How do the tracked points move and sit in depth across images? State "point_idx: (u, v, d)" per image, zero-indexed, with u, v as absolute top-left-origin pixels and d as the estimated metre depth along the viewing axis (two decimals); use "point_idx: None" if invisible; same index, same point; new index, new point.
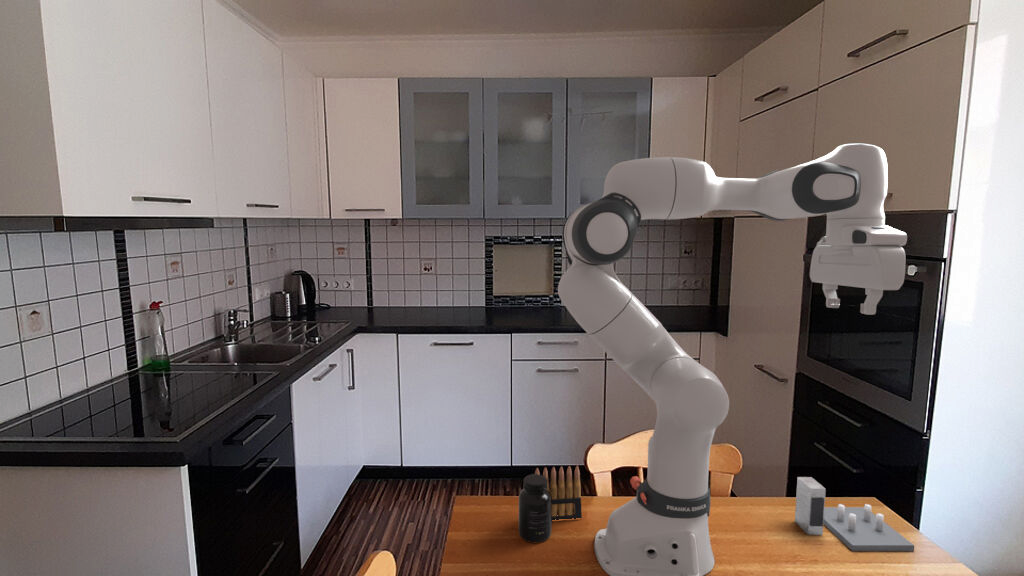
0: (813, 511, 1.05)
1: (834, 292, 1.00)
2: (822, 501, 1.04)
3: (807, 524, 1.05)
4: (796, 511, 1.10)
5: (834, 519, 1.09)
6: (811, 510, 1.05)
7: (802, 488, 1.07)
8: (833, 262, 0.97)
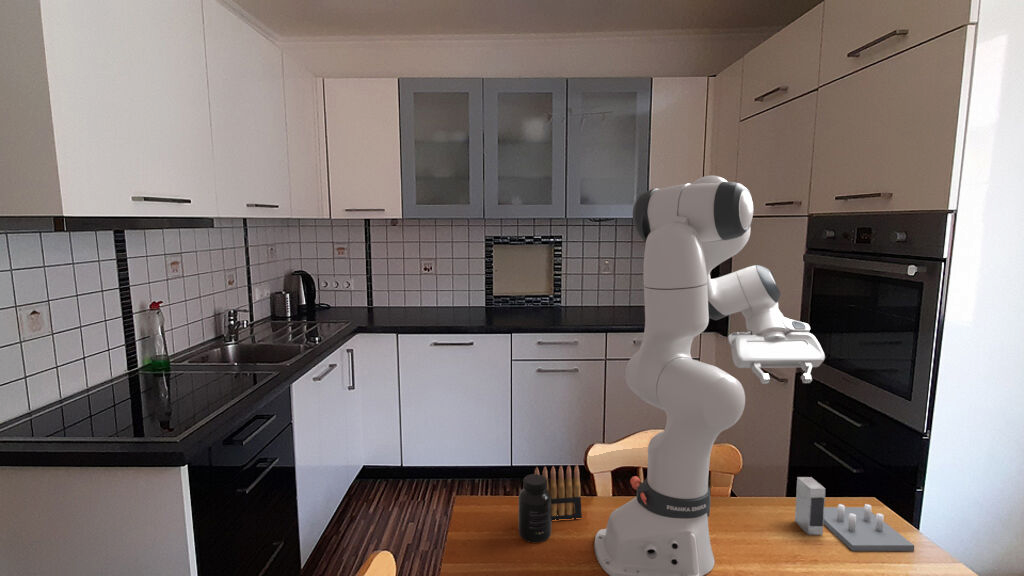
0: (813, 511, 1.05)
1: None
2: (822, 501, 1.04)
3: (807, 524, 1.05)
4: (796, 511, 1.10)
5: (834, 519, 1.09)
6: (811, 510, 1.05)
7: (802, 488, 1.07)
8: (764, 346, 1.21)
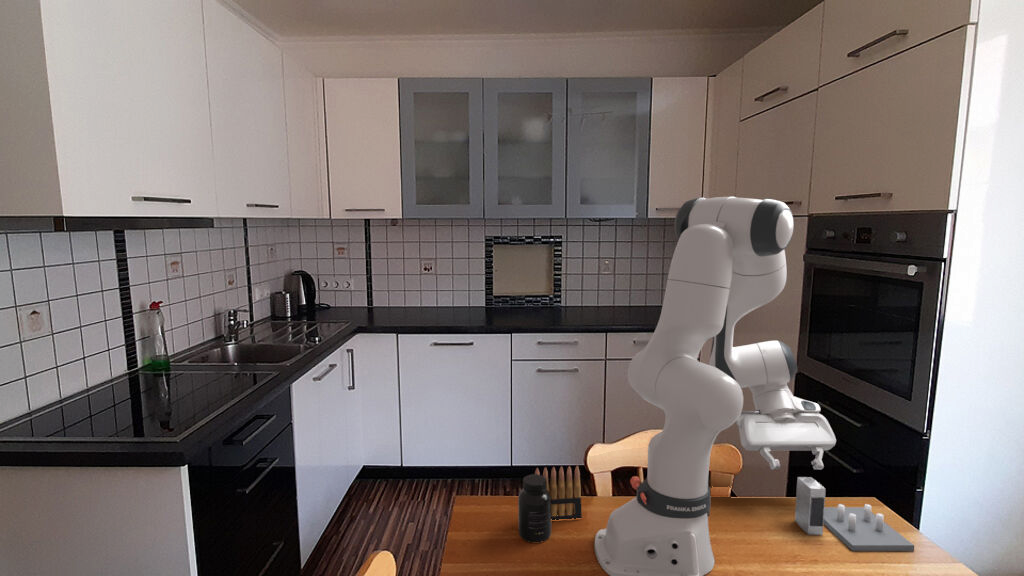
0: (813, 511, 1.05)
1: None
2: (822, 501, 1.04)
3: (807, 524, 1.05)
4: (796, 511, 1.10)
5: (834, 519, 1.09)
6: (811, 510, 1.05)
7: (802, 488, 1.07)
8: (773, 427, 1.16)
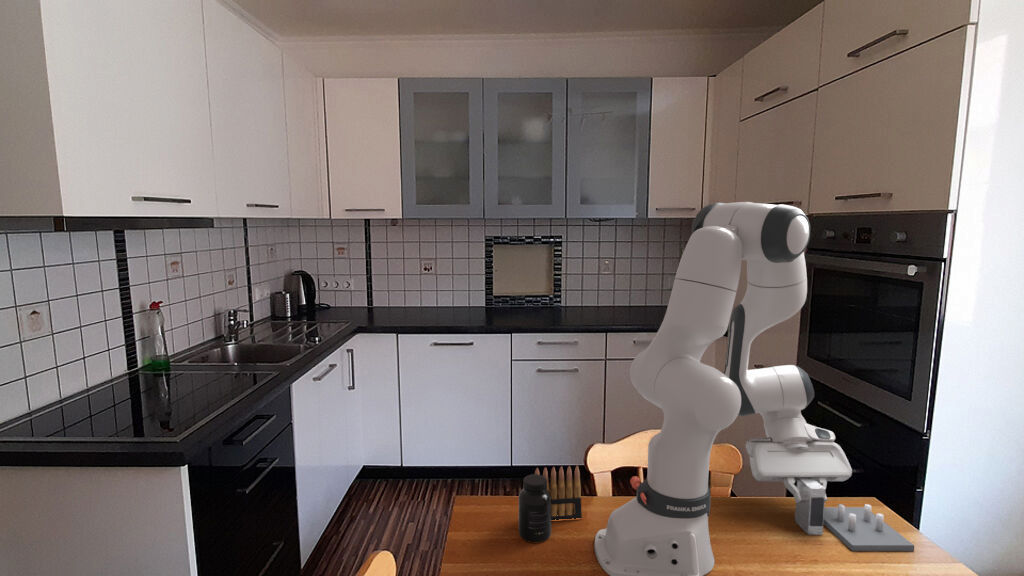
0: (813, 511, 1.05)
1: None
2: (822, 501, 1.04)
3: (807, 524, 1.05)
4: (796, 511, 1.10)
5: (834, 519, 1.09)
6: (811, 510, 1.05)
7: (802, 488, 1.07)
8: (786, 457, 1.11)
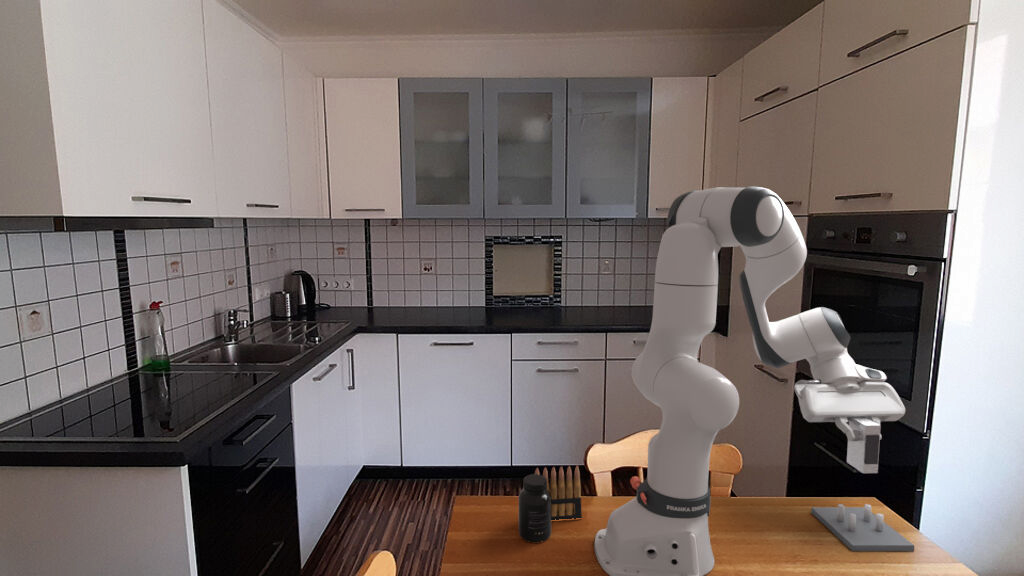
0: (868, 448, 1.02)
1: None
2: (877, 438, 1.02)
3: (862, 463, 1.03)
4: (848, 451, 1.08)
5: (834, 519, 1.09)
6: (865, 448, 1.03)
7: (855, 427, 1.05)
8: (837, 397, 1.09)
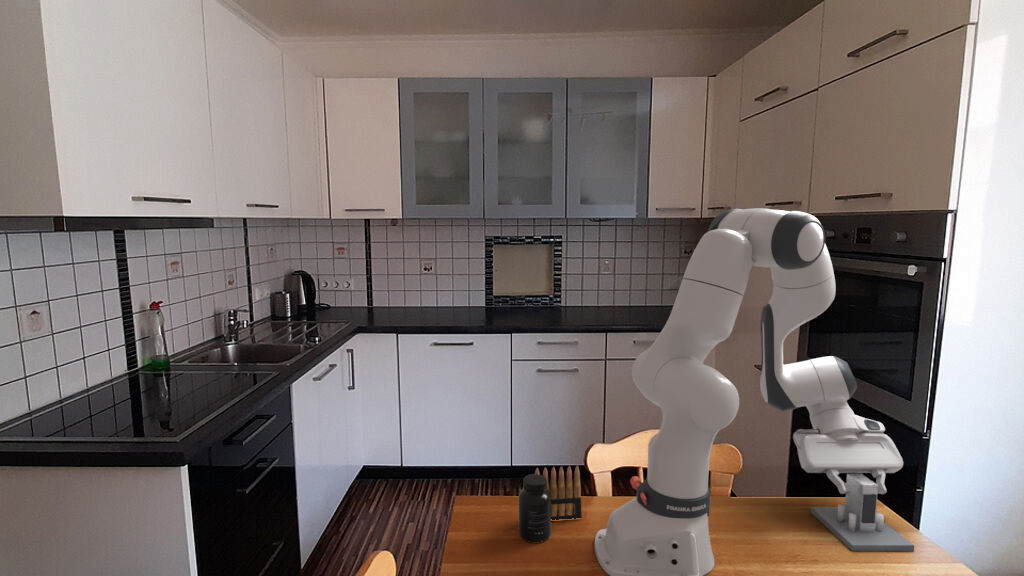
0: (865, 508, 1.03)
1: None
2: (874, 498, 1.03)
3: (859, 521, 1.04)
4: (846, 508, 1.09)
5: (834, 519, 1.09)
6: (863, 507, 1.04)
7: (853, 485, 1.06)
8: (835, 448, 1.10)
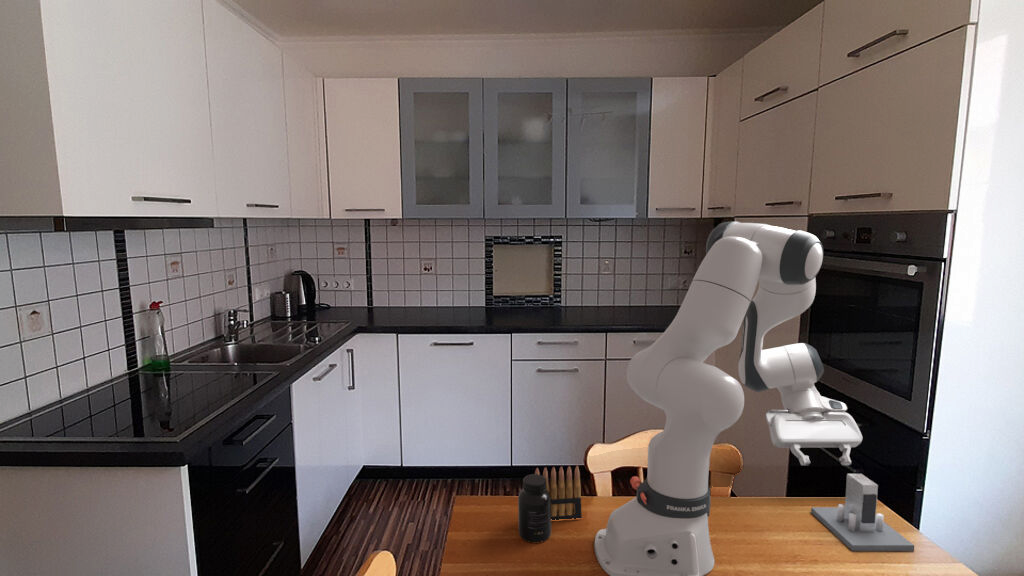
0: (865, 508, 1.03)
1: None
2: (874, 498, 1.03)
3: (859, 521, 1.04)
4: (846, 508, 1.09)
5: (834, 519, 1.09)
6: (863, 507, 1.04)
7: (853, 485, 1.06)
8: (802, 425, 1.22)
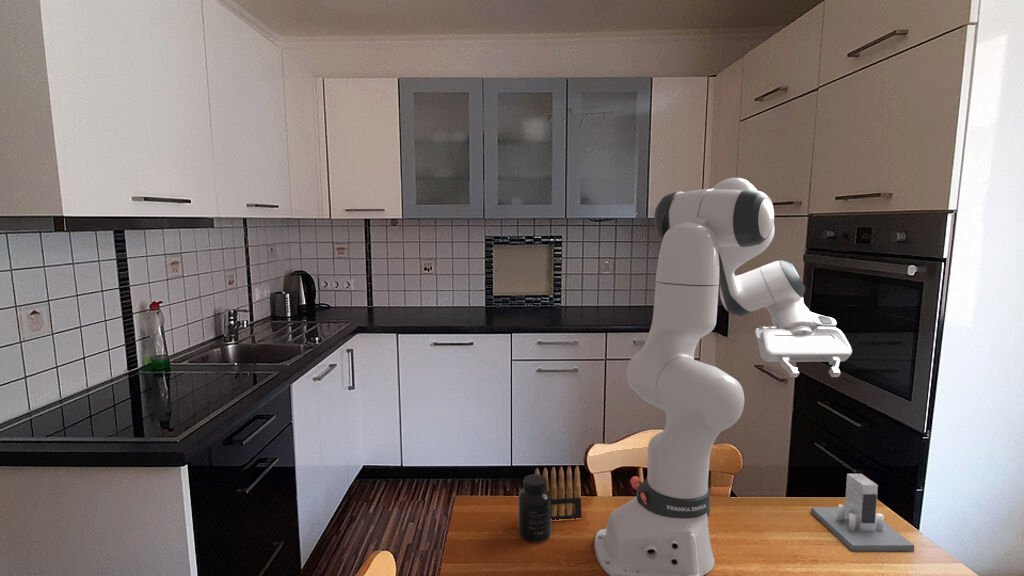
0: (865, 508, 1.03)
1: None
2: (874, 498, 1.03)
3: (859, 521, 1.04)
4: (846, 508, 1.09)
5: (834, 519, 1.09)
6: (863, 507, 1.04)
7: (853, 485, 1.06)
8: (791, 340, 1.22)
